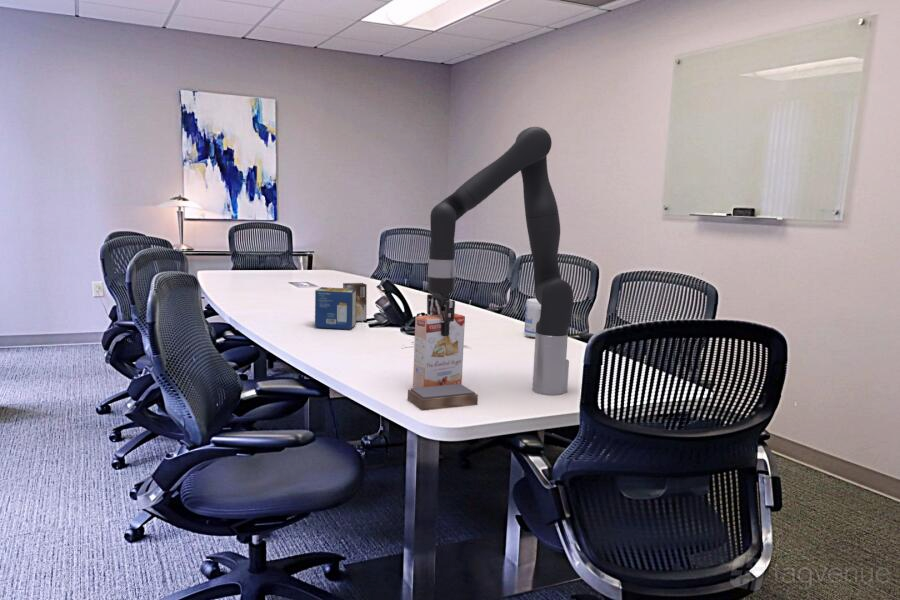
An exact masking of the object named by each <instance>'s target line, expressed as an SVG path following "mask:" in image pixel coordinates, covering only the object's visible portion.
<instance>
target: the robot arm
mask: <svg viewBox="0 0 900 600" xmlns="http://www.w3.org/2000/svg"><path fill="white" fill-rule="evenodd" d="M552 144H553V142H552V137H551V135H550V133H549V132H548V131H547V130H546V129H545V128H544V127H540V126H529V127H527V128H524V129H523V130H522V131H520V132H519V134H518V135H517V137H516V139H515V142H514V143H513V144H512V145H511V146H510V148H509V149H507V151H505V152H504V153H503V154H502V155H500V156H499V157H498V158H497V159H495V161H493V162H491V163H490V164H488V165H487V166H485V167H484V168H483V169H481V170H479V171H478V172H477V173H475V174H474V175H472V176H470V178H469V179H467V180H466V181H465V182H464V183H463V184H461V185H460V186H459V187H458V188H457V189H456V190H455V191H454V192H453V193H452V194H450V195H448V196H447V197H446V198H444V199H442V200H441V202H439V203H438V204H436V205H435V206H434V207H433V208H432V210H431V212H430V216H429V217H430V243H429V254H428V255H429V261H428V267H427V291H428V294H427V295H426V315H427V316H428V315H439V316H440V317H441V322H442V323H441V335H442V336H449V324H450V322H452V321H454V313H455V312H456V311H455V310H456V301H455V300H453V299H452V300H451V298H450V294H453V293H454V292H455V280H456V279H455V277H456V264H455V255H456V254H455V248H456V245H455V236H456V225H457V224H456V223H457V221H459V219H460V218H462V217H463V216H464V215H465V214H467V212H469V211H471V210H473V209H474V208H476V207H477V206H479V204H481V203H483V201H485V200H486V199H487V198H488V197H489V196H490V195H492V194H494V193H495V191H496V190H498V188H501V186H502V185H504V184H505V183H506V182H507V181H508V180H509V179H511V178H512V177H514V176H515V175H516V174H518V173H520V174H521V178H522V185H523V186H522V187H523V203H524V204H523V205H524V214H525V215H524V216H525V223H526V228H527V229H526V230H527V236H528V241H529V247H530V252H531V253H530V254H531V256H532V264H533V282H534V283H533V285H534V298H535V299H537V301H538V302H539V304H541V313H540V319H539V321H538V322H537V324H536V334H535V337H534V338H535V339H534V353H533V354H534V355H533V356H534V357H533V369H532V370H533V373H532V374H533V375H532V392H533V393H535V394H539V395H543V396H544V395H545V396H560V395H563V394H565V393H567V392H568V383H569V371H570V370H569V369H570V360H569V359H567V353H568V335H569V328H570V326H571V323H572V316H573V315H572V314H573V309H574V308H573V306H574V291H573V288H572V285H570V282H569V283H568V281H566V280H564V279H563V278H562V276H561V271H560V265H559V260H558V259H559V258H558V257H559V256H558V254H559V247H560V241H561V239H560V238H561V222H560V214H559V209H558V205H557V204H558V203H557V200H556V197H555V194H554V190H553V187H552V184H551V182H550V178H549V174H548V163H547V162H548V159H547V157H548V154H550V151H551V148H552ZM450 314H451V317H450Z"/></svg>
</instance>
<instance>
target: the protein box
mask: <svg viewBox="0 0 900 600" xmlns="http://www.w3.org/2000/svg"><path fill="white" fill-rule="evenodd" d="M314 291H315V292H314V294H315V295H314V302H315V303H314V328H318V329H320V328H322V329H339V330H340V329H341V330H345V329H346V330H352V329H353V328H354V327H355V326H356V325H357V321H356V289H352V288H343V287H324V286H322V287H319V288H317V289H315V290H314Z"/></svg>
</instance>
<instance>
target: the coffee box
mask: <svg viewBox="0 0 900 600" xmlns="http://www.w3.org/2000/svg"><path fill="white" fill-rule="evenodd" d="M367 287H368V286H367V284H366V283H364V282H342V288H352V289H356V322H358V321H367V315H368V314H367V298H368V297H367V294H368V292H367V290H368V289H367Z"/></svg>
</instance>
